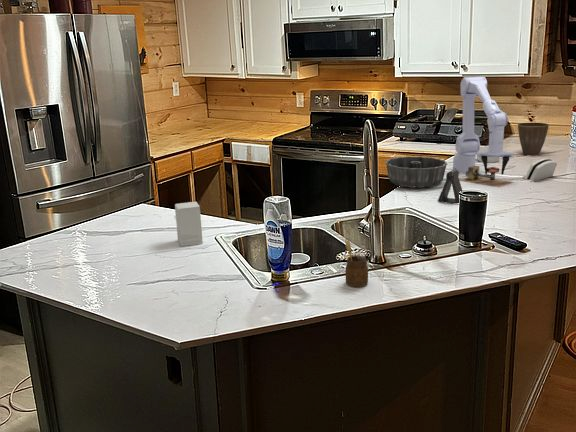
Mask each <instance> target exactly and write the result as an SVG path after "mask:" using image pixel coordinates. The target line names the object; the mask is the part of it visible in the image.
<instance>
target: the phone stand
mask: <svg viewBox="0 0 576 432" xmlns="http://www.w3.org/2000/svg"><path fill="white" fill-rule="evenodd" d="M459 175H460V172H458V170H455V171H454V170H453V169H452V170H450V171H448V172H447V173H446V175H445V182H444V185H443V186H442V189H441V191H440V194H439V197H438V199H437V202H438V201H439V202H438V203H445V202H447V204H453V203H459V192H460V191H463V187H462V184H461V181H459V180H460V178H459ZM451 187H452V191H453V196H454V198H453V197H449V194H450V190H451Z"/></svg>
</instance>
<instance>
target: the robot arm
mask: <svg viewBox="0 0 576 432" xmlns="http://www.w3.org/2000/svg"><path fill="white" fill-rule="evenodd" d="M460 96H462V133H461V134H459V135H458V136H457V137H456V142H455V146H454V147H455V152H456V153H455V154H454V156H453V160H452V170H454V171H455V170H458V172H459V173H462V174H466V171H468V167H471V166H476V158H477V157H481V159H482V161H483V162H482V164H483V167H484V174H488V172H487V168H488V163H487V160H488V159H487V157H499V158H502V165H501V171H500V172H501V175H504V172H505V169H506V167H507V165H508V163H509V162H510V158H514V157H515V153H514V151H513V152H511V151H503V150H504V139H505V138H504V135H505V127H506V126H507V124H508V120H509V118H508V115H507V113H506V112H503V110H501V109H500V107H499V105H498V104H497V102H496V101H495V100H494V99H492V98H491V96H490V92H489V91H488V81H487V78H486V77H485V76H484V75H482V76H468V77H467V76H464V77H463V78H462V79H461V81H460ZM476 97H478V98H479V99H480V101H481V102H482V109H483V111H484V113H485V115H486V117H487V120H486V121H487V126H488V131H489V134H488V135H489V136H488V148H489V150H488V151H487V152H479V150H480V149H481V143H480V136H479V135H477V134H476V133H475V99H476ZM492 155H493V156H492ZM498 155H499V156H498Z"/></svg>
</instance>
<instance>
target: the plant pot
mask: <svg viewBox="0 0 576 432" xmlns="http://www.w3.org/2000/svg"><path fill="white" fill-rule="evenodd" d="M549 126H550V124H549V123H545V122H521V123H518V124H517V130H518V132H517V133H518V138H519V143H520V147H521V151H522V153H523V155H524V154H525V155H524V156H526V155H537V156H540V153H541V152H542V148H543V146H544V144H545V141H546V137H547V134H548V130H549Z"/></svg>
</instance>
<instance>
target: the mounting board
mask: <svg viewBox="0 0 576 432" xmlns="http://www.w3.org/2000/svg"><path fill="white" fill-rule="evenodd" d="M479 178H481V179H479V180H476V181H469V180H465V179H468V176H466V177H463V178H461V179H460V178H459V181H460V182H466V183H470V184H478V185H482V186H489V187H496V188H502V187H504V186H507V185H508V186H509V185H511V184H513V183H515V181H511V180H510V181H509V180H502V179H496V178H495V180H490V178H486V177H480V176H479Z"/></svg>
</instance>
